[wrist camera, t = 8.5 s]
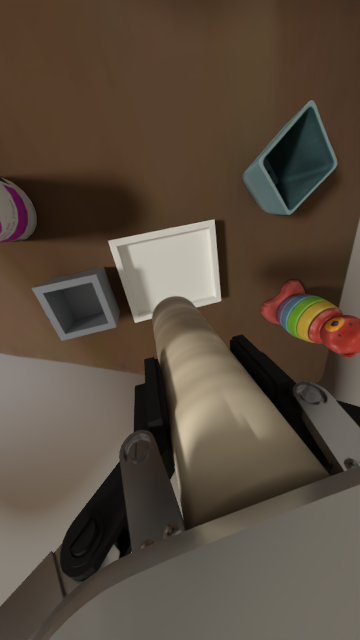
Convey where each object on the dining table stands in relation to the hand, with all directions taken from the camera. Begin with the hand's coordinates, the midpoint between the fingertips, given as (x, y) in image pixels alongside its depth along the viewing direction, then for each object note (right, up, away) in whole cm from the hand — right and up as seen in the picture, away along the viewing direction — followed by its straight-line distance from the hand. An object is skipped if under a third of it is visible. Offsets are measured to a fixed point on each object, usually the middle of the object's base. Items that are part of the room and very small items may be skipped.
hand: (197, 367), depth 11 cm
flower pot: (+13, +28, +21) cm, 37 cm away
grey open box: (-18, +7, +23) cm, 31 cm away
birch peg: (-2, +3, +7) cm, 8 cm away
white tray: (-3, +12, +25) cm, 28 cm away
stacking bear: (+24, +6, +34) cm, 42 cm away
